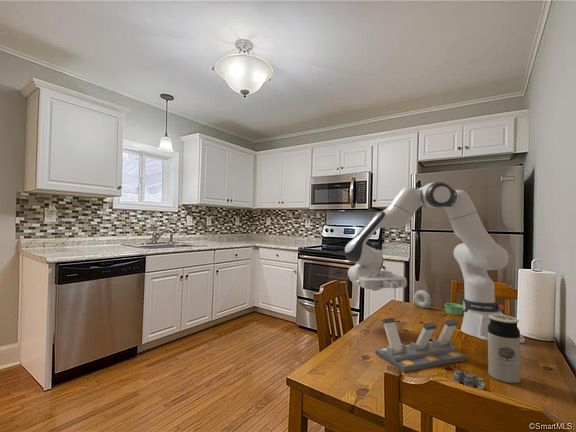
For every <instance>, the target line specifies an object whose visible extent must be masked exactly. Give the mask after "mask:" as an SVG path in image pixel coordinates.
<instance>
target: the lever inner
mask: <svg viewBox="0 0 576 432" xmlns="http://www.w3.org/2000/svg"><path fill="white" fill-rule="evenodd" d="M459 324H460V322H459V320H457V319H456V318H453V319H446V320H445V324H444V326H443V327H442V330H441V332H440V334H439V335H438V338H437V340H438V341H440V345H444V344H447V343H448V341H449V339H451V336H452V335H453V333H454V331H455V330H456V327H457V326H458V325H459Z"/></svg>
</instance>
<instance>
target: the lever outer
mask: <svg viewBox="0 0 576 432" xmlns="http://www.w3.org/2000/svg"><path fill="white" fill-rule="evenodd" d="M381 322H382V324H383V327H384V330H385V333H386V337H387V341H388V346H390V347H392V348H394V352H400V351H403V348H402V344H403V343H402V342H401V338H400V335H399V331H398V329H397V325H396V320H395V318H394V317H389V318H383V319H381Z"/></svg>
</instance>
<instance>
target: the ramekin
mask: <svg viewBox="0 0 576 432" xmlns="http://www.w3.org/2000/svg"><path fill="white" fill-rule="evenodd" d="M444 309H445V310H444V311H446V312H445V313H446V314H447V313H449V314H448V315H451V314H452V316H463V315H464V310H463V304H460V303H454V302H446V303H444Z"/></svg>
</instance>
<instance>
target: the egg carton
mask: <svg viewBox="0 0 576 432" xmlns="http://www.w3.org/2000/svg"><path fill="white" fill-rule="evenodd" d="M451 380H453V381H455V382H458V383H463V386H464V385H466V386H470V387H473V388H474V386H476V388H477V390H478V389H481V390H483V391H484V388H485V382H484V379H483V378H482V377H477V376H476V375H475V374H471V373H468V372H466V371H461V370H459V369H458V368H456V369H455V371H454V374H453V375H452V378H451Z"/></svg>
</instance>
